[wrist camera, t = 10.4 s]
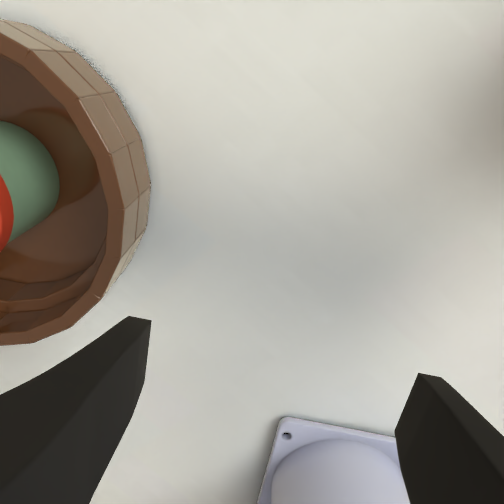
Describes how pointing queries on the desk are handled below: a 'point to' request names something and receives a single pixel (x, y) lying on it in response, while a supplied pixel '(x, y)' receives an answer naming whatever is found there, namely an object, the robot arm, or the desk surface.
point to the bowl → (68, 186)
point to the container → (24, 182)
